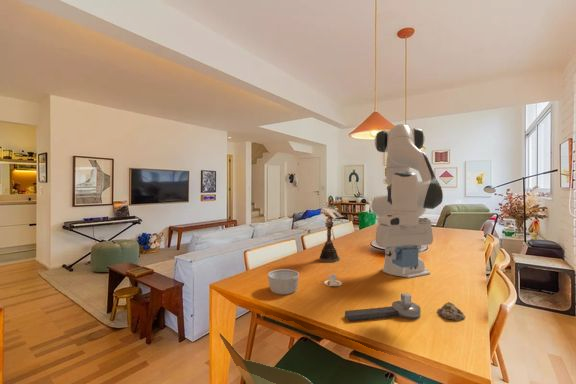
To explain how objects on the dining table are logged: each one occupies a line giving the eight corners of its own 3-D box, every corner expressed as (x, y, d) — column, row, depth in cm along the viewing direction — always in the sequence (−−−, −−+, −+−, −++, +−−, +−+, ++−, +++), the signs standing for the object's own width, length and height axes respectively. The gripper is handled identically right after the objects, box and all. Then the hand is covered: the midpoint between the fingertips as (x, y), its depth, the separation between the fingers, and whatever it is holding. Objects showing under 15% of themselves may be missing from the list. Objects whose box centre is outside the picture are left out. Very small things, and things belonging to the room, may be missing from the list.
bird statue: (351, 260, 162) (351, 201, 161) (340, 264, 152) (340, 202, 151) (327, 255, 173) (327, 200, 172) (315, 259, 163) (315, 201, 162)
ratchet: (352, 326, 86) (352, 305, 86) (342, 313, 95) (341, 294, 95) (426, 318, 91) (426, 298, 91) (409, 306, 100) (409, 288, 99)
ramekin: (275, 298, 108) (275, 281, 107) (263, 287, 119) (263, 271, 119) (304, 292, 114) (304, 275, 114) (290, 282, 125) (289, 267, 125)
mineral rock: (467, 317, 86) (439, 305, 90) (462, 330, 87) (435, 317, 91) (466, 306, 96) (441, 295, 100) (462, 317, 96) (437, 306, 100)
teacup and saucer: (337, 289, 118) (337, 279, 118) (320, 285, 122) (320, 276, 122) (344, 282, 125) (344, 274, 125) (328, 279, 129) (328, 271, 129)
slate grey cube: (406, 261, 98) (406, 245, 98) (418, 266, 92) (418, 248, 92) (391, 262, 97) (391, 245, 97) (402, 267, 91) (402, 249, 91)
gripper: (424, 216, 99) (424, 254, 100) (373, 218, 95) (373, 258, 95) (437, 218, 93) (437, 259, 94) (383, 220, 89) (383, 262, 89)
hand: (404, 258), depth 94 cm, fingers closed on slate grey cube, 6 cm apart
